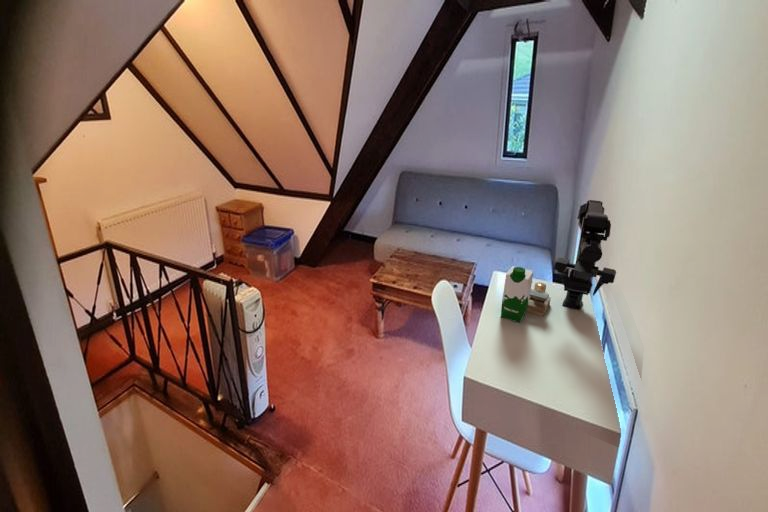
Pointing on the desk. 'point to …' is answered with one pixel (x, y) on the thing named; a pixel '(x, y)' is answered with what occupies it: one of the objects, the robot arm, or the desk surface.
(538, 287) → the peg
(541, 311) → the socket block
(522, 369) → the desk surface
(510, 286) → the milk carton
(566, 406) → the desk surface
